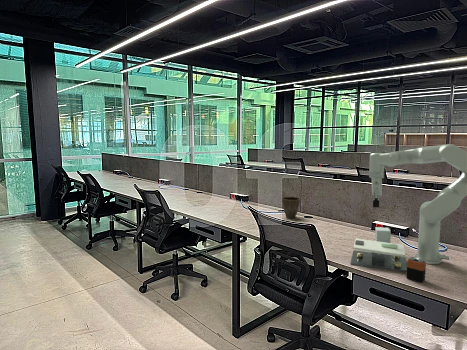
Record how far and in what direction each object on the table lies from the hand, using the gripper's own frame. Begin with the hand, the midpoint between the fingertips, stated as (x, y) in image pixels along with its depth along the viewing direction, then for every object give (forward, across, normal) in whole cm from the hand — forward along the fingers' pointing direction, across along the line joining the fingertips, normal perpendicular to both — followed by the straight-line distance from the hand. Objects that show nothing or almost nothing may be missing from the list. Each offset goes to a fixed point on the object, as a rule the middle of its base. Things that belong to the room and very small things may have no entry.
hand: (376, 206), depth 181 cm
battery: (+27, -32, -17) cm, 45 cm away
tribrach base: (+26, -15, -1) cm, 30 cm away
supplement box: (+26, +5, -4) cm, 27 cm away
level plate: (+20, -15, -1) cm, 25 cm away
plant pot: (+25, +63, +64) cm, 93 cm away
